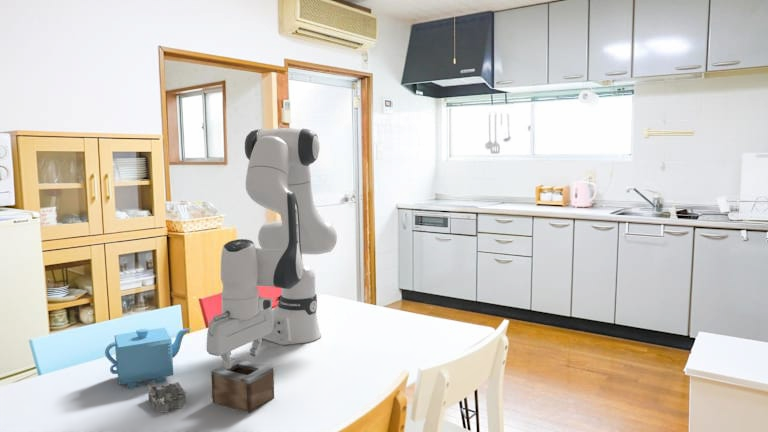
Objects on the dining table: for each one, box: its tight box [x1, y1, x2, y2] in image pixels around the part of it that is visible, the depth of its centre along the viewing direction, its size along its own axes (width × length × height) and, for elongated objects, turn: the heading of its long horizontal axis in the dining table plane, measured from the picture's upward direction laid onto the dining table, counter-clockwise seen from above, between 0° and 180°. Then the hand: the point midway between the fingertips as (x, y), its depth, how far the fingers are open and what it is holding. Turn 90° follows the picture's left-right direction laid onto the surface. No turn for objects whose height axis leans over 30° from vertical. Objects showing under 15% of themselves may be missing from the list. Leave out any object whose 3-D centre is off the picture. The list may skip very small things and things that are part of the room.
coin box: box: [210, 358, 275, 414], centre depth 137 cm, size 12×9×8 cm
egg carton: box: [147, 381, 187, 413], centre depth 137 cm, size 11×8×4 cm
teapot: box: [104, 327, 192, 389], centre depth 151 cm, size 22×11×14 cm, turn 120°
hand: (242, 361), depth 137 cm, fingers open, 8 cm apart
